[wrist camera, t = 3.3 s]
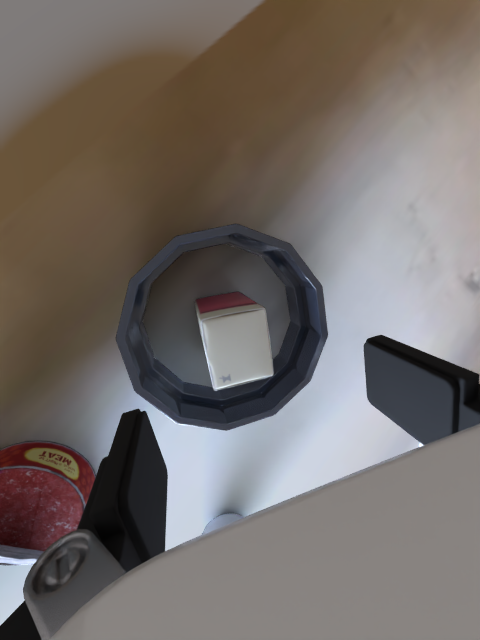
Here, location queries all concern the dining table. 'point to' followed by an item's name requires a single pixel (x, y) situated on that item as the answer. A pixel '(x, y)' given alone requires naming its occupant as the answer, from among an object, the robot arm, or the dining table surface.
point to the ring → (242, 400)
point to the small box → (234, 339)
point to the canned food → (40, 497)
